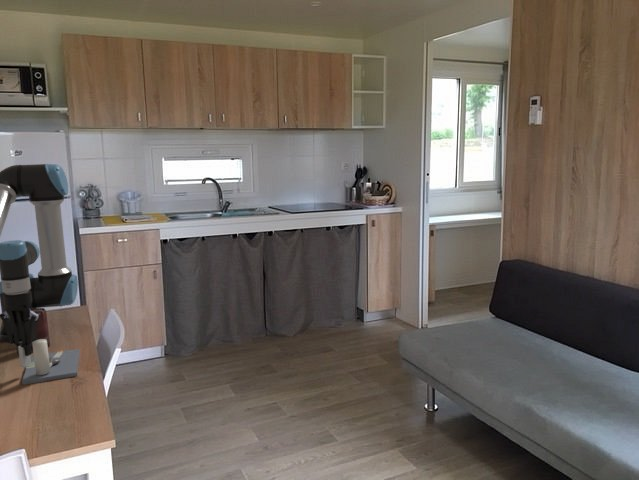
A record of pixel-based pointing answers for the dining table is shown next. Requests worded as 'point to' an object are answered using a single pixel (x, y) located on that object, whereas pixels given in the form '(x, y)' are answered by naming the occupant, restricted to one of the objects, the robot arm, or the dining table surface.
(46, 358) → the needle
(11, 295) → the robot arm
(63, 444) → the dining table surface
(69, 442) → the dining table surface
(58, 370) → the dial plate
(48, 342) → the can
